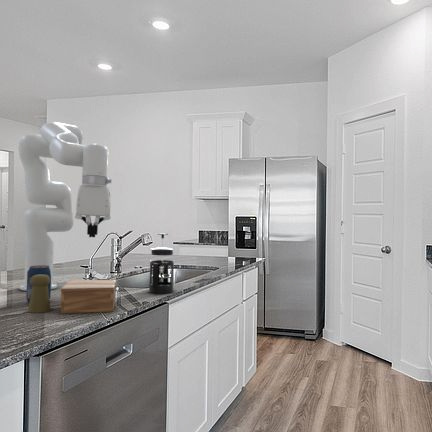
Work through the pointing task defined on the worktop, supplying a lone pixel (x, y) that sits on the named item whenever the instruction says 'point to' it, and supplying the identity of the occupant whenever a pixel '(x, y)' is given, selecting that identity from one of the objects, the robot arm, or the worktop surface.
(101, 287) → the lid
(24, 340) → the worktop surface
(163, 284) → the french press
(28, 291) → the soda can
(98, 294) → the chest
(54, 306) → the worktop surface
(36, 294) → the cork
